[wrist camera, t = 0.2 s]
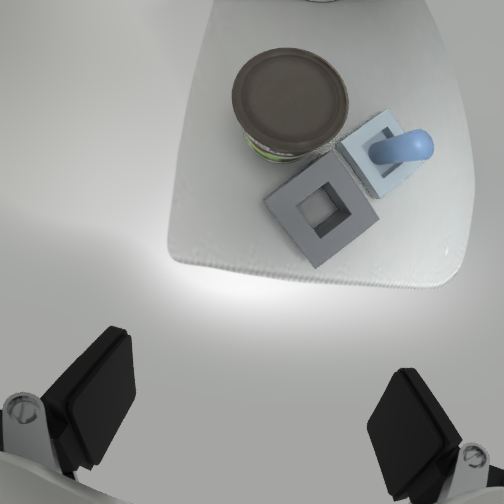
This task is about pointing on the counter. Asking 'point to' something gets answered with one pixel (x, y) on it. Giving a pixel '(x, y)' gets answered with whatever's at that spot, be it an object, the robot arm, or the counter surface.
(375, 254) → the counter surface
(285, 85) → the coffee can
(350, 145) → the square frame plate
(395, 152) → the plug
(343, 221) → the port
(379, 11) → the counter surface
